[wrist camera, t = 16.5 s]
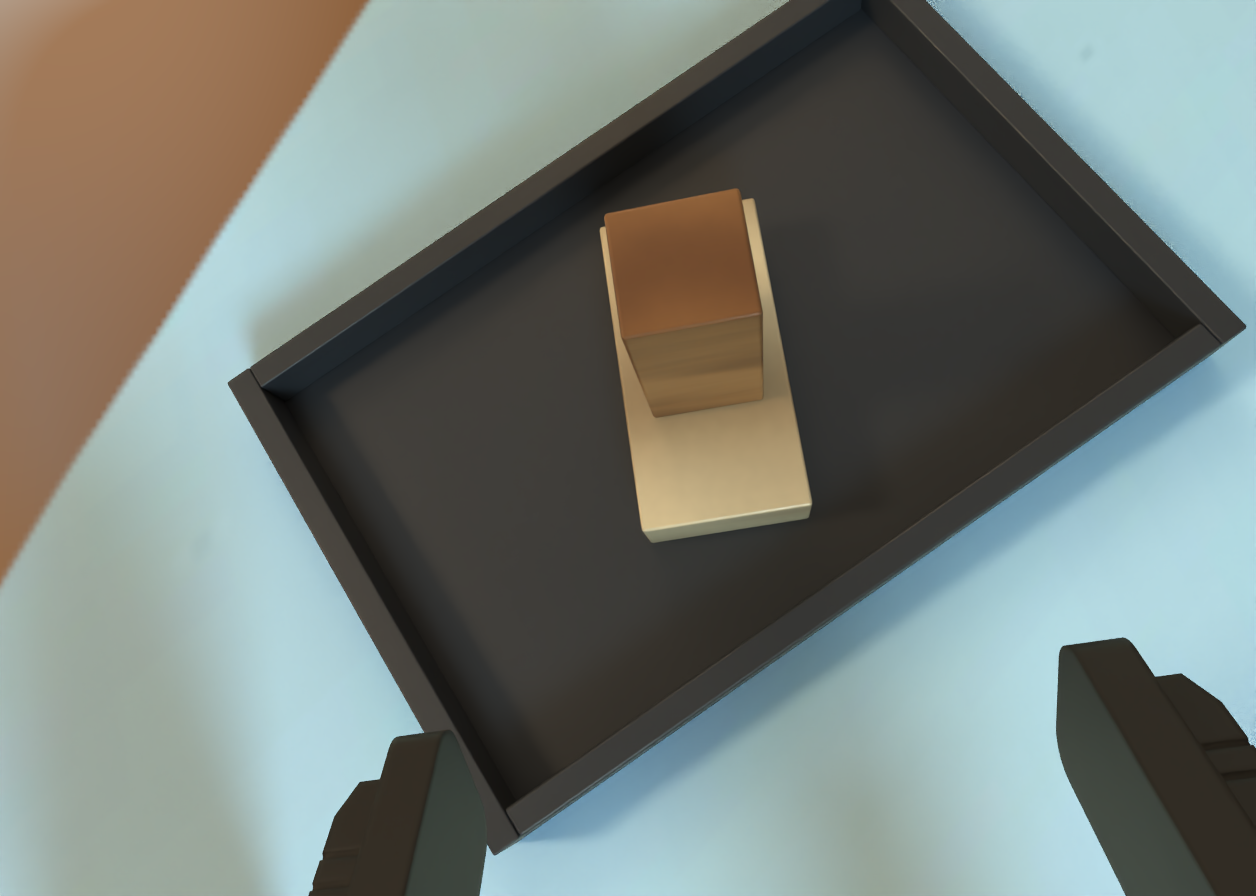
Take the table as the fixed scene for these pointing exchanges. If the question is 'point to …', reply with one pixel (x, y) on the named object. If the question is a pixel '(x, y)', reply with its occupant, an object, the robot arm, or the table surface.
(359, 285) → the table surface
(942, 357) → the tray
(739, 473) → the stacked wooden blocks
